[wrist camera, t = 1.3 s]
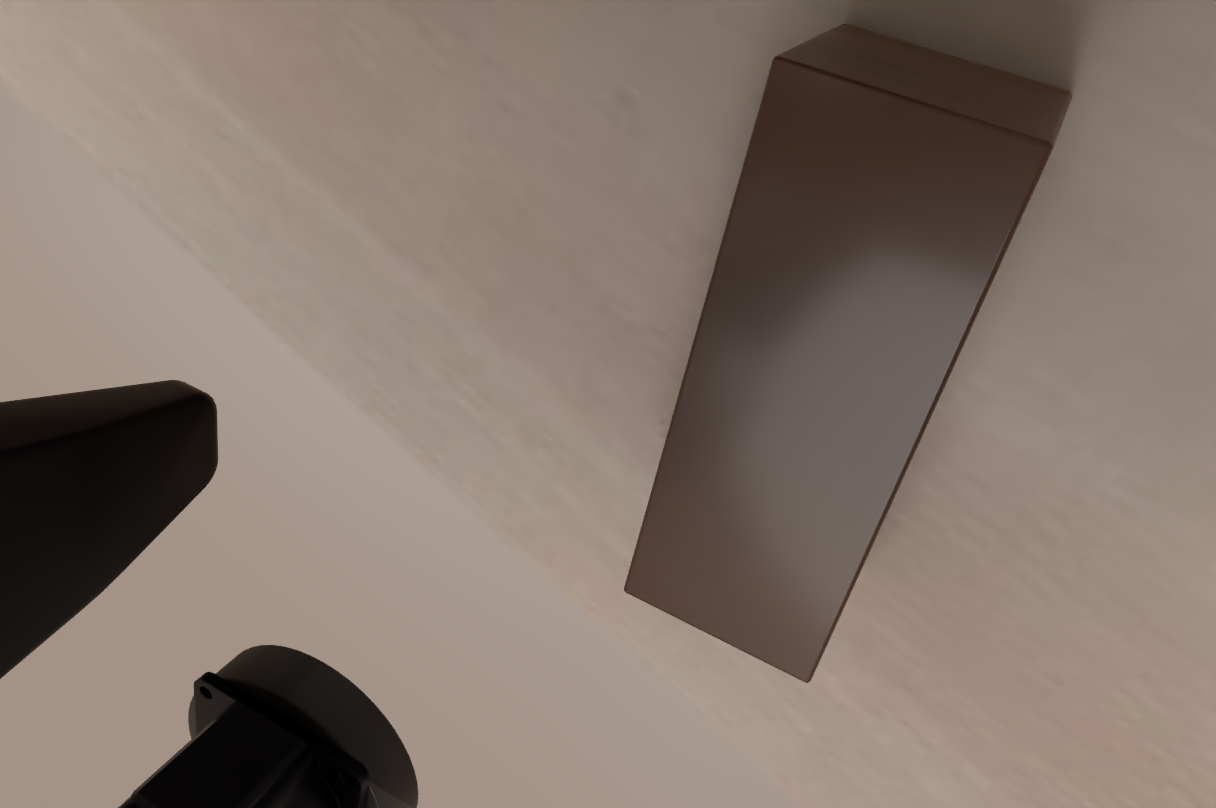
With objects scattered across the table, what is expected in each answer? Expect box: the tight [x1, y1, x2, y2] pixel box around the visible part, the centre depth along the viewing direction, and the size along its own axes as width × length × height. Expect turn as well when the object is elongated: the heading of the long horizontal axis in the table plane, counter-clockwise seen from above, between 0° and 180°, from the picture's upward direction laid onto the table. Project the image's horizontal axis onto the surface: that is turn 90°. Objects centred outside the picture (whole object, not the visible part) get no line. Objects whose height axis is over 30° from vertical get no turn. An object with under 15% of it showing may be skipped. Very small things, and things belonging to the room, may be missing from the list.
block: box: [624, 24, 1072, 683], centre depth 14 cm, size 8×3×3 cm, turn 167°
